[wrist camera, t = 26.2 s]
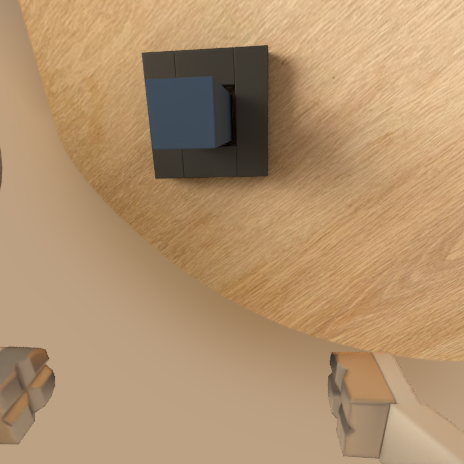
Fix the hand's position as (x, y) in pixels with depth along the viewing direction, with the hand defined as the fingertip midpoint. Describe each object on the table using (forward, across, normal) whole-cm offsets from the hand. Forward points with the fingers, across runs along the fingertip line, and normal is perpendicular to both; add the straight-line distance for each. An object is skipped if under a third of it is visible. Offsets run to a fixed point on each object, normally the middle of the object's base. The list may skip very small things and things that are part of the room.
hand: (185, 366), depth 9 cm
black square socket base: (+25, -2, +6) cm, 26 cm away
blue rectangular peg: (+25, -2, +6) cm, 26 cm away
